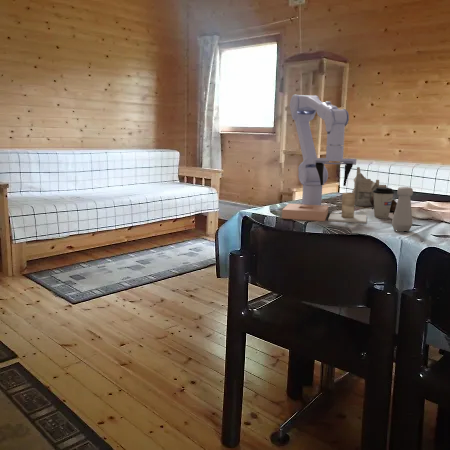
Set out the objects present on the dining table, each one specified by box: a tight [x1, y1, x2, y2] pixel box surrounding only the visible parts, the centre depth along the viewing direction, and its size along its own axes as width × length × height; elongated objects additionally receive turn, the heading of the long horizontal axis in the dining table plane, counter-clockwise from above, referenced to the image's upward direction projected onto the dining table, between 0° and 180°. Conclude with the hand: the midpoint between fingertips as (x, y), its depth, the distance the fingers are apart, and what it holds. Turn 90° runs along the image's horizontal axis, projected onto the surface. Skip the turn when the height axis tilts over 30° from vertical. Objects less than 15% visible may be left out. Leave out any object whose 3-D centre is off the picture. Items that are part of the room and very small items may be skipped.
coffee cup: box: [373, 187, 395, 219], centre depth 159 cm, size 7×7×10 cm
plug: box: [341, 192, 355, 218], centre depth 155 cm, size 4×4×8 cm
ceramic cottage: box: [351, 166, 388, 207], centre depth 190 cm, size 16×16×15 cm
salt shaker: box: [391, 186, 414, 232], centre depth 137 cm, size 6×6×13 cm
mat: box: [327, 212, 367, 224], centre depth 155 cm, size 12×12×1 cm
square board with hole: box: [281, 203, 329, 222], centre depth 159 cm, size 14×14×3 cm
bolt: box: [370, 195, 397, 212], centre depth 176 cm, size 6×5×15 cm
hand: (333, 185), depth 160 cm, fingers open, 7 cm apart
